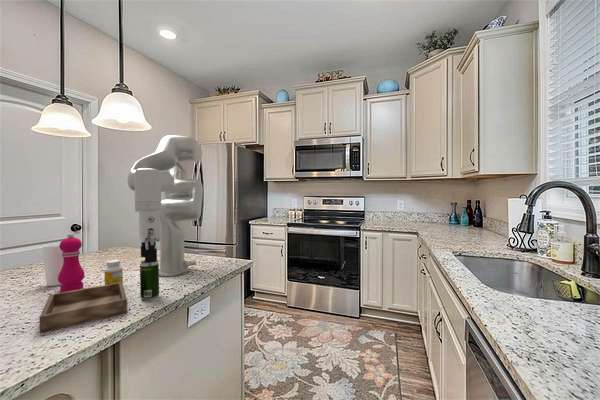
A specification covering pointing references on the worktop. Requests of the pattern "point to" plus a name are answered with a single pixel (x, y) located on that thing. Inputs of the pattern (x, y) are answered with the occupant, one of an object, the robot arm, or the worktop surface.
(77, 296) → the box
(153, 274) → the beer can
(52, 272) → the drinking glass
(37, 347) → the worktop surface
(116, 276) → the supplement bottle
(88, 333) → the worktop surface
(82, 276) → the pepper mill
